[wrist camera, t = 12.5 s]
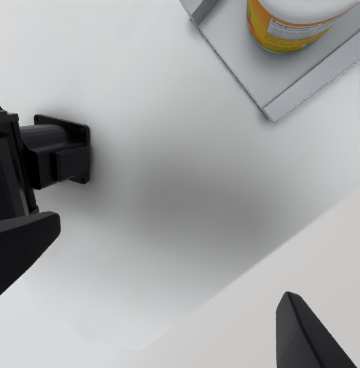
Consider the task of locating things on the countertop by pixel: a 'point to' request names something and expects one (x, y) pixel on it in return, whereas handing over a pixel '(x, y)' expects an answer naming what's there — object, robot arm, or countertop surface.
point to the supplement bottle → (293, 21)
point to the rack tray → (275, 55)
